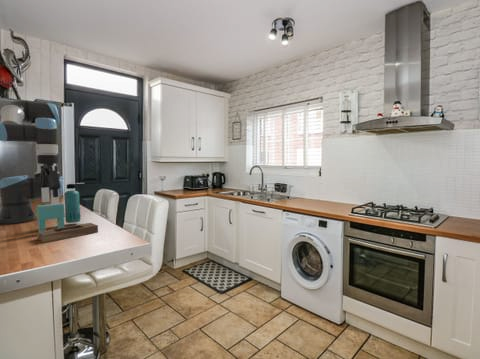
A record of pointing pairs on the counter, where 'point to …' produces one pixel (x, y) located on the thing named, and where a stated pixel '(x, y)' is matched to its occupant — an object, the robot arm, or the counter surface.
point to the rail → (67, 232)
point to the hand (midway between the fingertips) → (50, 203)
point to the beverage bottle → (72, 205)
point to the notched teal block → (50, 215)
